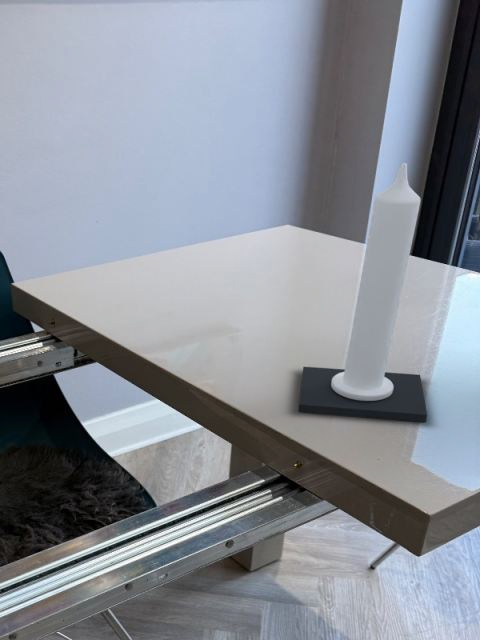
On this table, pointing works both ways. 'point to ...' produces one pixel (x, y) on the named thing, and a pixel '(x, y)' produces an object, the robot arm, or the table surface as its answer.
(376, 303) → the candle
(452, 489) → the table surface
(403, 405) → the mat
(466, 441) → the table surface
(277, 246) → the table surface
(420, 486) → the table surface
